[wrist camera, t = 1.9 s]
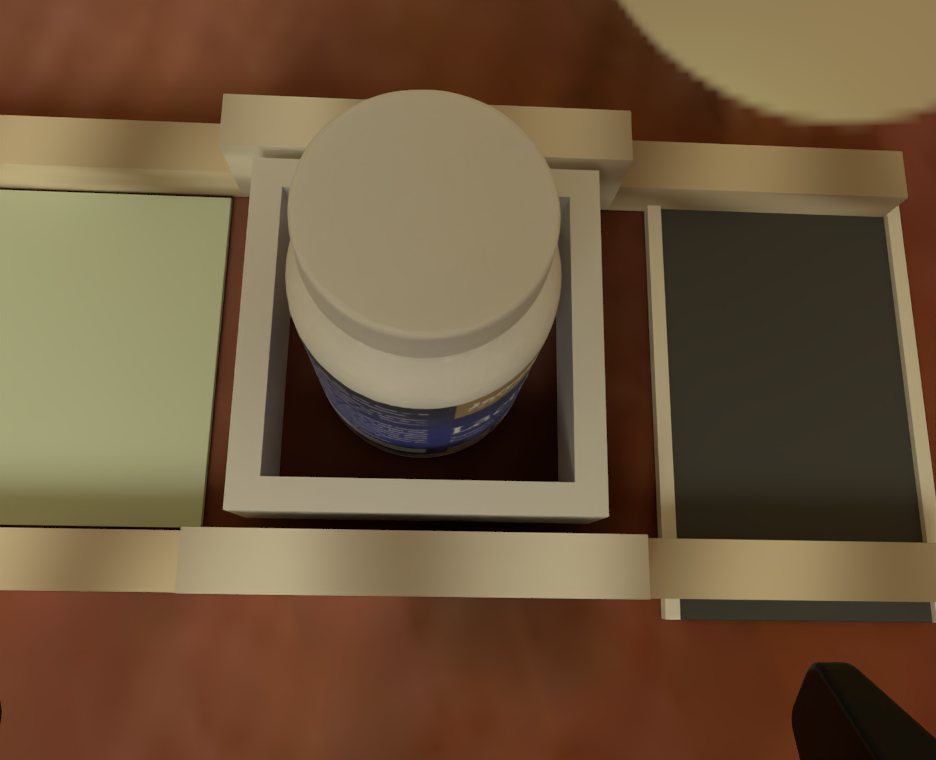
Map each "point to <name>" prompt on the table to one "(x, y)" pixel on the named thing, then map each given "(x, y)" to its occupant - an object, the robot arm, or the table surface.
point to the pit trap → (786, 392)
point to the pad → (108, 356)
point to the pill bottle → (422, 267)
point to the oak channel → (455, 552)
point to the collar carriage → (270, 496)
